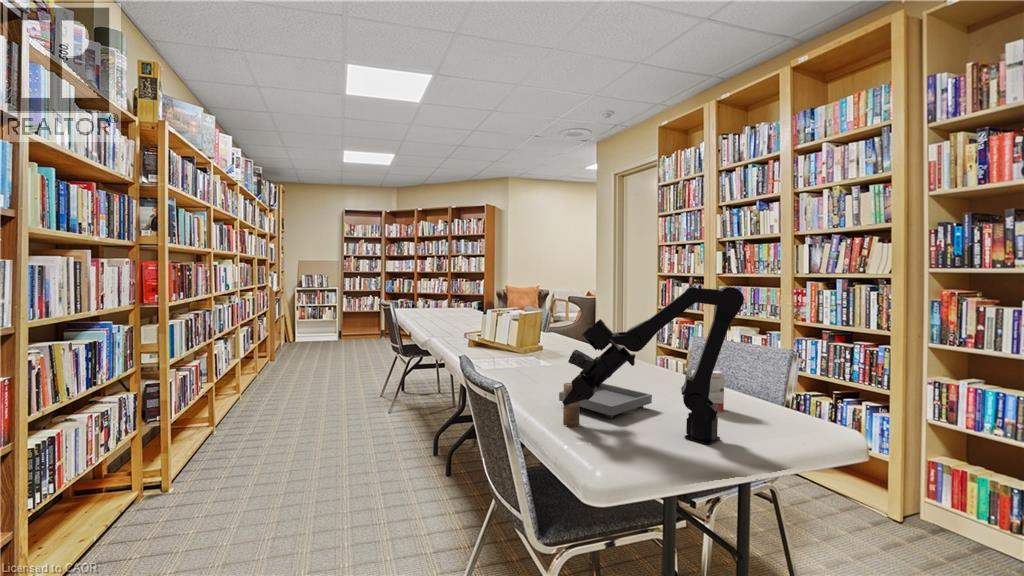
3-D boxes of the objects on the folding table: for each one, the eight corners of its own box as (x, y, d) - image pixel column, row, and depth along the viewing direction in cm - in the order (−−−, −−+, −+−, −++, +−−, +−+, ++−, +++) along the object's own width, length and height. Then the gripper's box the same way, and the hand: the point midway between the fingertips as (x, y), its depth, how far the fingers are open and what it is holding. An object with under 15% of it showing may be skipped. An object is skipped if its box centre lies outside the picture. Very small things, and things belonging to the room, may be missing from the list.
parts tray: (651, 408, 148) (651, 394, 148) (611, 422, 135) (611, 406, 134) (599, 395, 163) (599, 382, 163) (559, 406, 150) (559, 392, 149)
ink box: (718, 407, 150) (719, 370, 150) (723, 412, 145) (725, 373, 145) (689, 406, 151) (690, 369, 150) (694, 411, 146) (695, 372, 146)
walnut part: (582, 424, 132) (583, 384, 132) (572, 427, 129) (572, 387, 129) (570, 420, 136) (570, 382, 135) (559, 423, 133) (560, 384, 132)
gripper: (592, 336, 139) (554, 371, 143) (580, 346, 121) (537, 385, 125) (619, 365, 137) (580, 400, 141) (611, 379, 119) (567, 418, 123)
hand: (566, 400), depth 133 cm, fingers open, 7 cm apart
